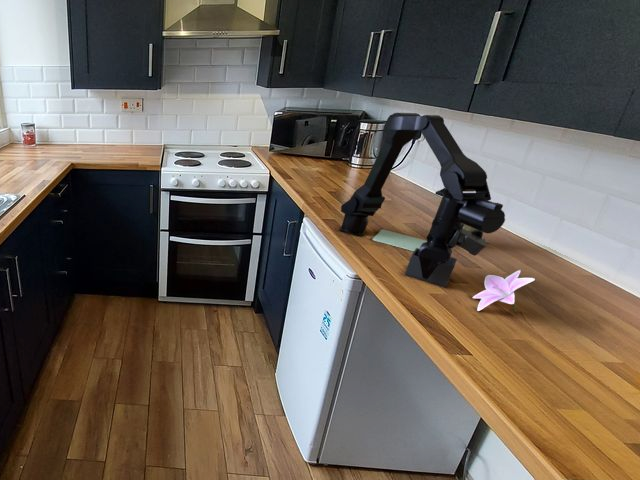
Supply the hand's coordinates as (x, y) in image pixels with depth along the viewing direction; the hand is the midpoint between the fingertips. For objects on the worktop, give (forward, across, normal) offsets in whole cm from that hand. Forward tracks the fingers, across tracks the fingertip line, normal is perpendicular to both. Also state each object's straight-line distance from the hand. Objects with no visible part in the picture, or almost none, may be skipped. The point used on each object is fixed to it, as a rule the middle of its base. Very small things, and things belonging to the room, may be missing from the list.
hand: (428, 272), depth 106 cm
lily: (+2, -6, -14) cm, 15 cm away
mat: (+1, +23, +9) cm, 25 cm away
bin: (+1, 0, 0) cm, 1 cm away
